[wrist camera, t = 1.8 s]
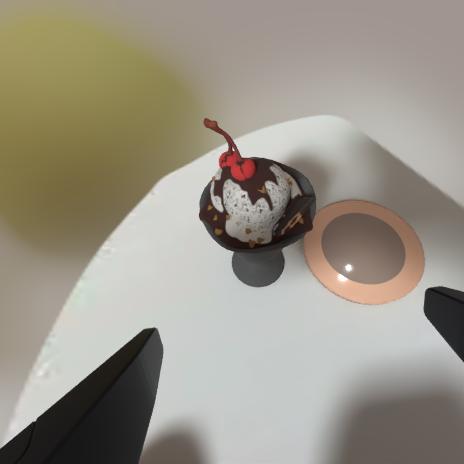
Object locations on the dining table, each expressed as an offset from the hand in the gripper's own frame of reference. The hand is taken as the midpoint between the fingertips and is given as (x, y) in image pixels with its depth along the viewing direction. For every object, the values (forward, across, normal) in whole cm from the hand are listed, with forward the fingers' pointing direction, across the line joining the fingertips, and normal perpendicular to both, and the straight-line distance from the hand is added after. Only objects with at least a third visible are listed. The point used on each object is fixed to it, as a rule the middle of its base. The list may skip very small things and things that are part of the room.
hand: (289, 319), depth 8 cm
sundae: (+14, 0, +4) cm, 15 cm away
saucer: (+14, -9, +4) cm, 17 cm away
